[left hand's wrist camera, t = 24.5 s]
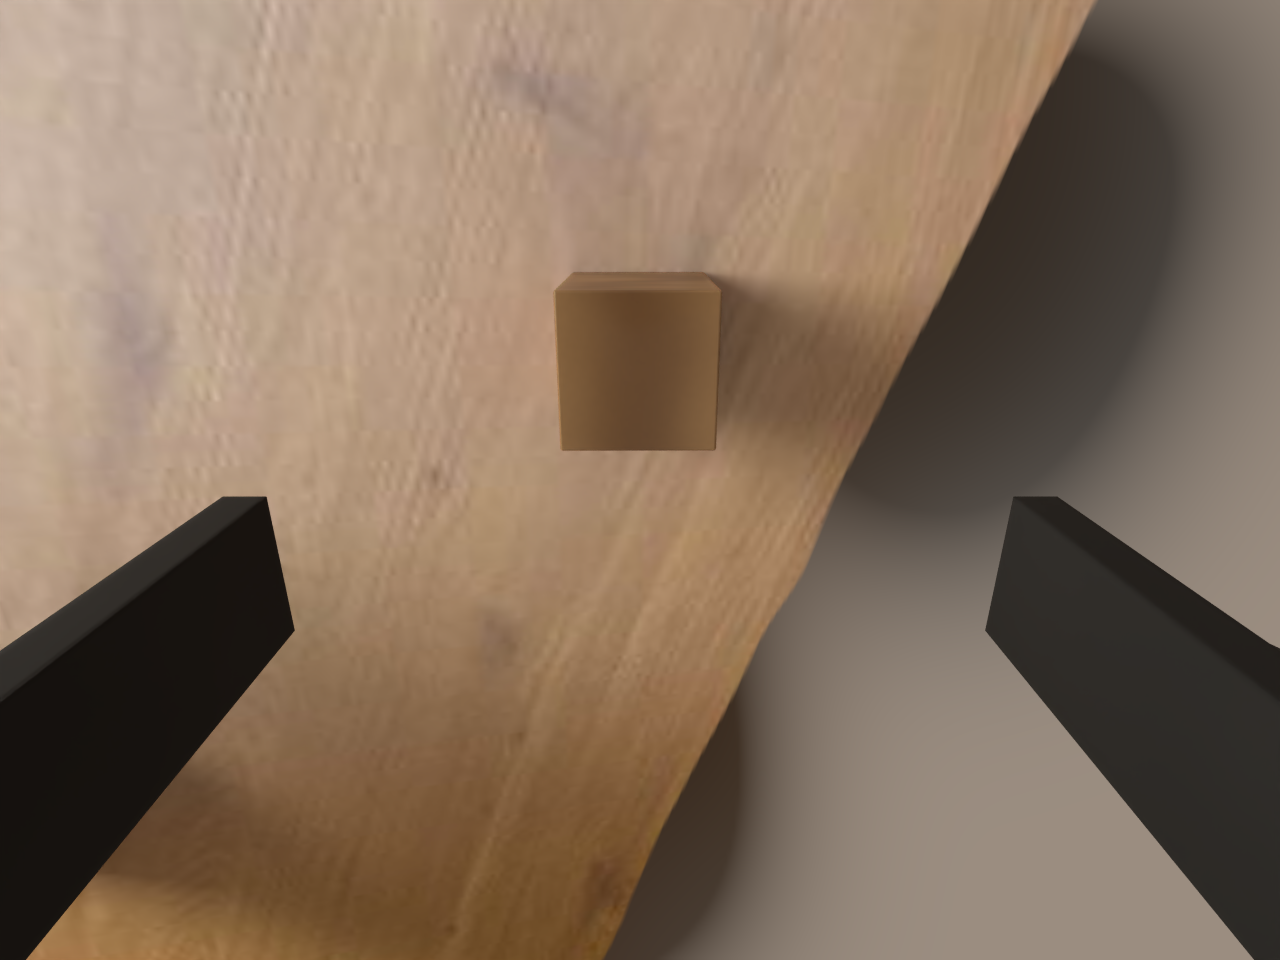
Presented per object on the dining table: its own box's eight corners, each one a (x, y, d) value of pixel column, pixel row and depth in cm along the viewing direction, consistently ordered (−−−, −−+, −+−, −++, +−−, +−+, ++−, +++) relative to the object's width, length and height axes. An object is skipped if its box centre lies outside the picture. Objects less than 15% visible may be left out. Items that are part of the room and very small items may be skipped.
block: (704, 271, 33) (722, 290, 26) (700, 401, 35) (716, 450, 28) (572, 272, 33) (553, 290, 26) (576, 401, 35) (560, 451, 28)
